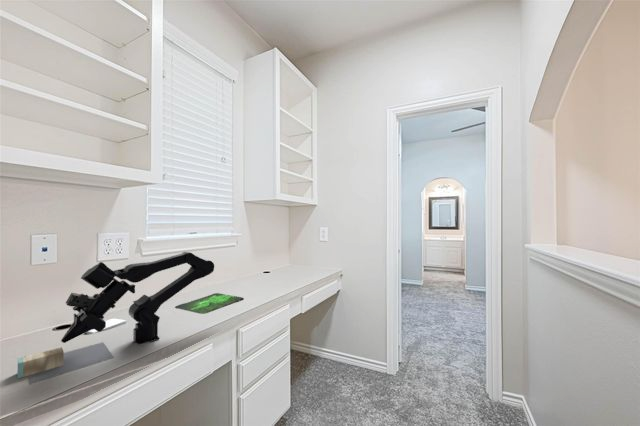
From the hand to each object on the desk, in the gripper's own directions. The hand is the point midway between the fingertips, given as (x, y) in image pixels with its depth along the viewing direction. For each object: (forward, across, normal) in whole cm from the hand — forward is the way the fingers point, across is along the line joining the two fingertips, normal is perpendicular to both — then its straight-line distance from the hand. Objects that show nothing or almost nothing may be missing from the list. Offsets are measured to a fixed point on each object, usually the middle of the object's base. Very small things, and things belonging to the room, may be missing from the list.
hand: (62, 341), depth 81 cm
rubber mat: (+3, 0, +6) cm, 7 cm away
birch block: (+3, 0, +3) cm, 4 cm away
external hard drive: (-5, -26, +15) cm, 31 cm away
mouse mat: (-36, -24, +46) cm, 63 cm away
